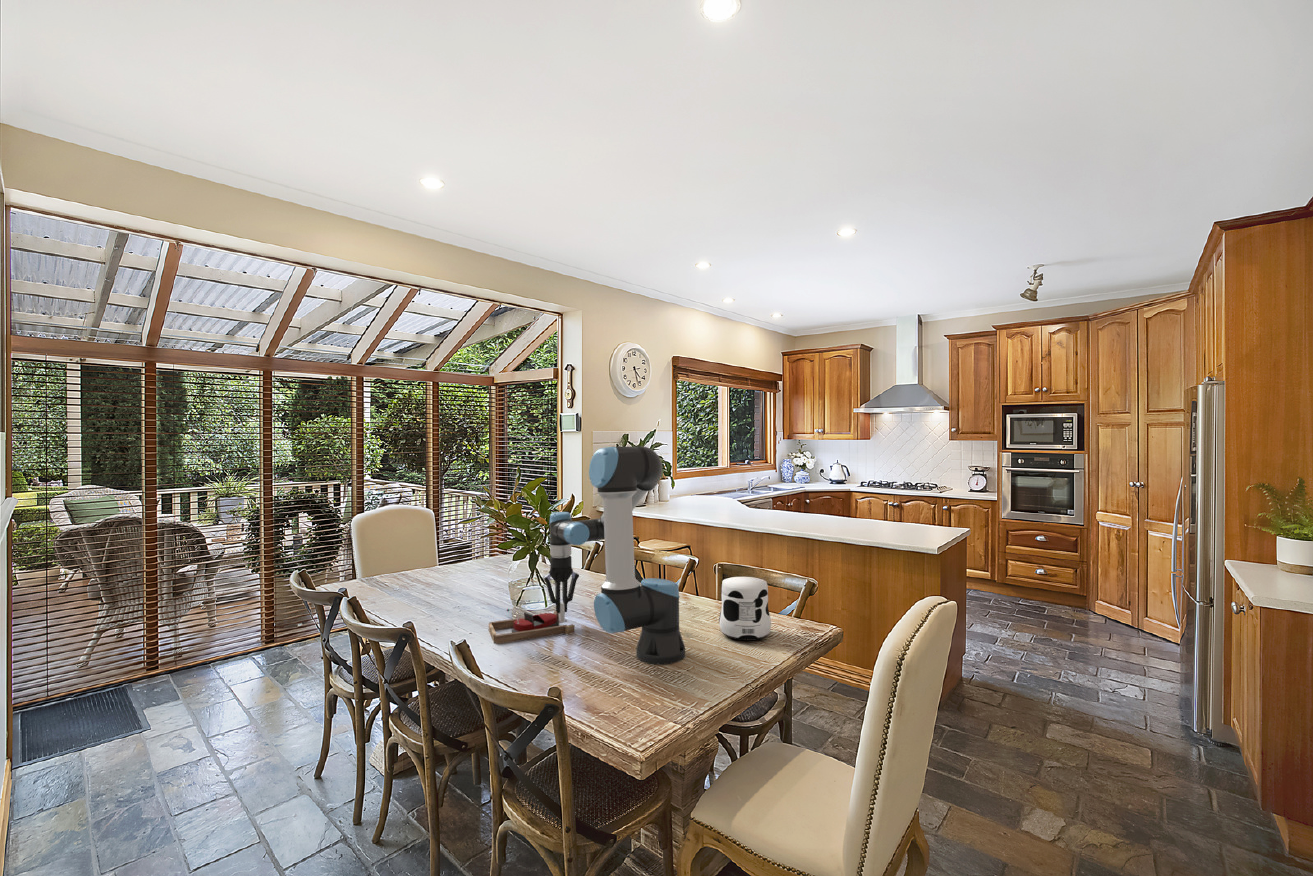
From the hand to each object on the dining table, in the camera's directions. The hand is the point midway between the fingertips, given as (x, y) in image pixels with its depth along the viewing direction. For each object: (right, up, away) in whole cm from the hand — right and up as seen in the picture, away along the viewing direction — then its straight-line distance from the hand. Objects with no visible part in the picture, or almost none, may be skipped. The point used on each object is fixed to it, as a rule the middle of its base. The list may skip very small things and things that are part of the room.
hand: (561, 621), depth 206 cm
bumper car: (-9, -2, -4) cm, 11 cm away
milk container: (+64, -1, -11) cm, 65 cm away
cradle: (-10, -2, -4) cm, 11 cm away
